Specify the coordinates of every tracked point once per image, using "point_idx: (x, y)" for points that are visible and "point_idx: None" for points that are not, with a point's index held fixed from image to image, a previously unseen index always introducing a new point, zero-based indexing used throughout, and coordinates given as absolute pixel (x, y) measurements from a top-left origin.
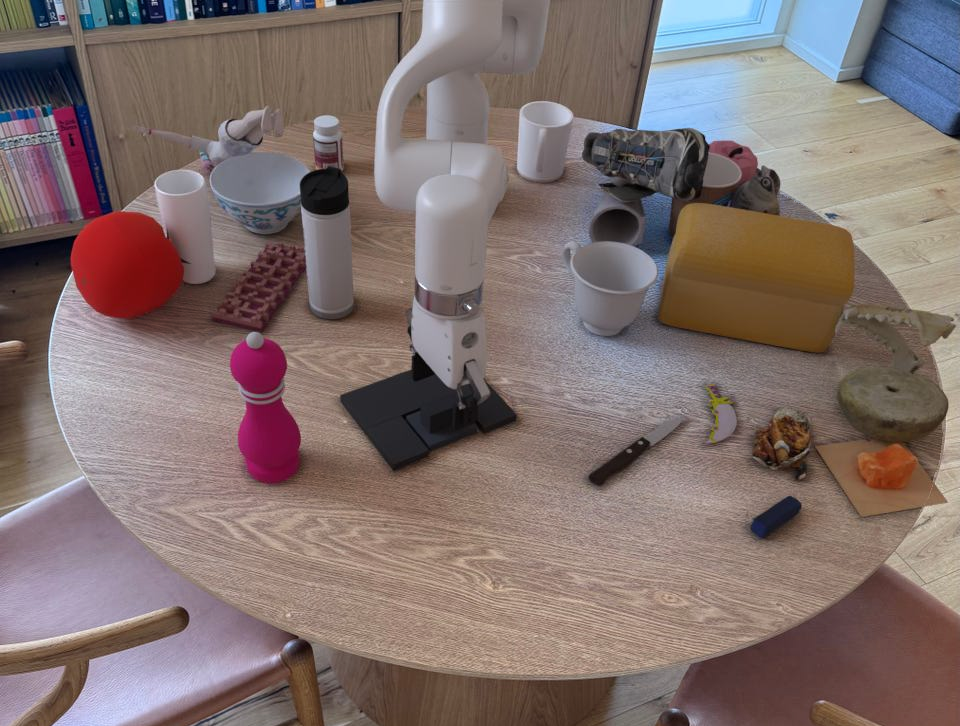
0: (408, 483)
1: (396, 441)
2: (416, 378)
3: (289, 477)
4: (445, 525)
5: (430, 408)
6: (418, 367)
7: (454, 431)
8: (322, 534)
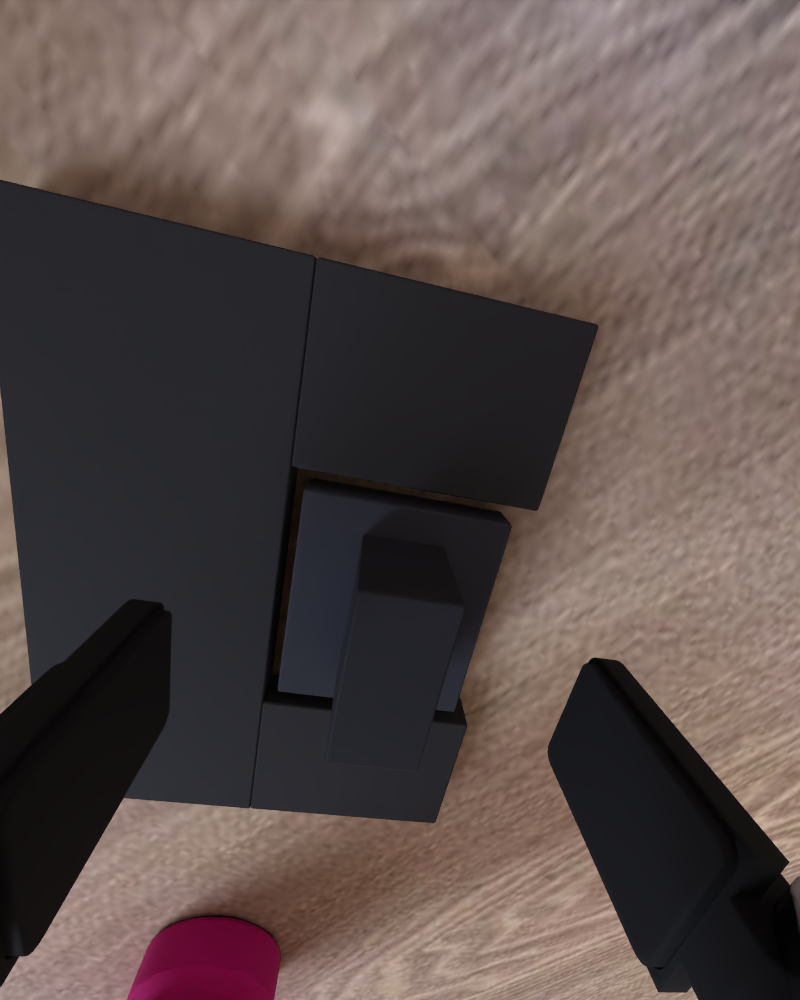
0: (493, 785)
1: (362, 774)
2: (156, 734)
3: (279, 955)
4: None
5: (377, 745)
6: (100, 818)
7: (464, 613)
8: (466, 958)
